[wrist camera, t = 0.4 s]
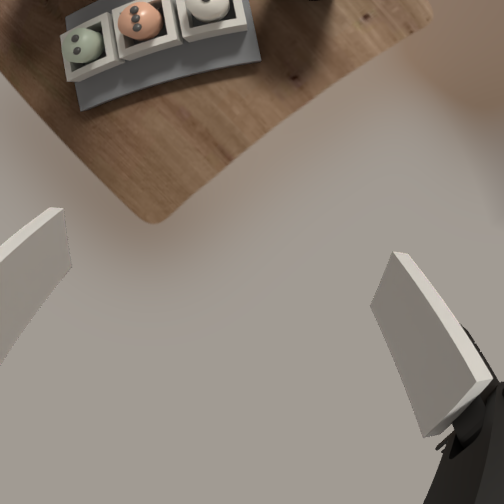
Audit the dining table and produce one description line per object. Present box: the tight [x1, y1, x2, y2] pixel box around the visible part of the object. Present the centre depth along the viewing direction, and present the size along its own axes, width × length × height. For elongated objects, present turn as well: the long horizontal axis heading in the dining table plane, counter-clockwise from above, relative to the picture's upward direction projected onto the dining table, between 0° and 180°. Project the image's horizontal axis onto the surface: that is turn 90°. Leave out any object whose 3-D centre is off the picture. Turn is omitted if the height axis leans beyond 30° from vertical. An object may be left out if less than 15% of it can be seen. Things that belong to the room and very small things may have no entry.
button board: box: [60, 0, 261, 111], centre depth 25 cm, size 14×22×4 cm, turn 100°
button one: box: [185, 0, 230, 23], centre depth 22 cm, size 4×4×3 cm
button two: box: [62, 28, 105, 64], centre depth 23 cm, size 4×4×3 cm
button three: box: [118, 2, 164, 41], centre depth 22 cm, size 4×4×3 cm
